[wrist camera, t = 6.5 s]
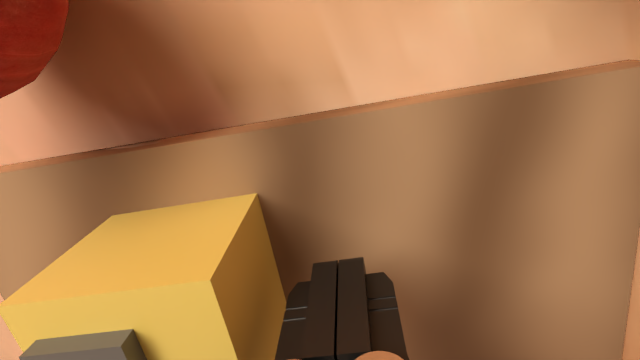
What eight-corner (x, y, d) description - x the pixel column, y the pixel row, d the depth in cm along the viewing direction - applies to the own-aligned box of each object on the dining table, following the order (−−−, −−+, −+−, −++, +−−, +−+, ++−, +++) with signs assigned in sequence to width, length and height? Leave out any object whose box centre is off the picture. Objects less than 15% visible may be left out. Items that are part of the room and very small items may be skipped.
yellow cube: (257, 193, 12) (201, 295, 7) (290, 318, 14) (263, 466, 9) (112, 215, 12) (-25, 323, 8) (162, 332, 14) (73, 478, 10)
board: (629, 59, 11) (661, 62, 10) (586, 464, 17) (603, 494, 16) (-30, 171, 14) (-64, 183, 12) (141, 489, 20) (129, 516, 19)
